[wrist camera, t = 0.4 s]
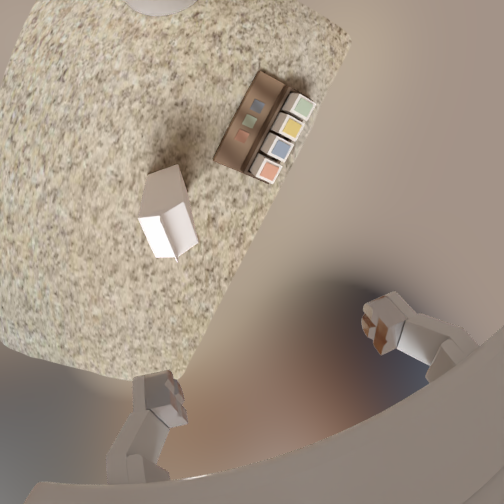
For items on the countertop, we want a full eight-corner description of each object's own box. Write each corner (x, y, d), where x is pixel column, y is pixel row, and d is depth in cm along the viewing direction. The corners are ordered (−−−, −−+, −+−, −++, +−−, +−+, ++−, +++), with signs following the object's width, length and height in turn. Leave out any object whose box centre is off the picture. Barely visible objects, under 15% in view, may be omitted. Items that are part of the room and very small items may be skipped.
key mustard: (279, 112, 45) (288, 114, 42) (295, 121, 47) (305, 124, 43) (270, 129, 46) (278, 132, 43) (286, 137, 48) (296, 142, 44)
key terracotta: (258, 152, 48) (265, 158, 45) (274, 160, 50) (283, 166, 46) (249, 170, 49) (256, 177, 46) (265, 177, 51) (273, 184, 47)
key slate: (269, 132, 47) (277, 135, 43) (285, 140, 48) (294, 145, 45) (260, 149, 48) (267, 154, 44) (276, 157, 49) (285, 163, 46)
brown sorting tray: (257, 71, 44) (265, 70, 40) (308, 99, 49) (318, 101, 45) (212, 159, 50) (216, 164, 47) (264, 181, 55) (271, 188, 52)
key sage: (290, 92, 44) (300, 93, 40) (306, 102, 45) (317, 104, 42) (281, 109, 45) (290, 111, 42) (297, 118, 46) (307, 121, 43)
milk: (178, 163, 49) (186, 210, 31) (188, 193, 52) (203, 255, 34) (146, 175, 48) (135, 229, 30) (157, 204, 52) (155, 272, 34)
